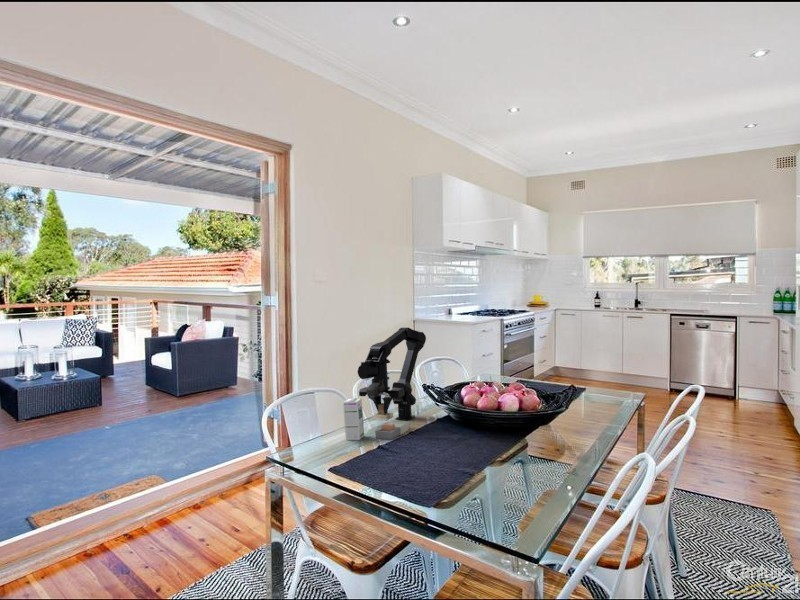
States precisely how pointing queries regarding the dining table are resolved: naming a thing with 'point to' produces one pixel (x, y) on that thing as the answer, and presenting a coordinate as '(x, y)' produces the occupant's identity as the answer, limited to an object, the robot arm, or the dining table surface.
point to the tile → (388, 427)
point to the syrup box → (353, 419)
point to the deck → (401, 425)
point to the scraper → (382, 414)
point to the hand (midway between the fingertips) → (382, 413)
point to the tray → (387, 434)
